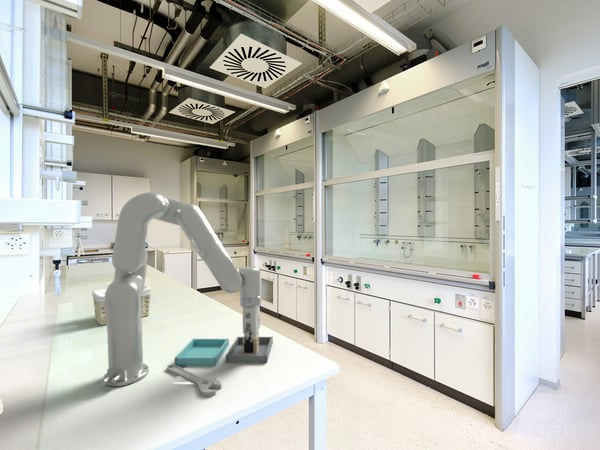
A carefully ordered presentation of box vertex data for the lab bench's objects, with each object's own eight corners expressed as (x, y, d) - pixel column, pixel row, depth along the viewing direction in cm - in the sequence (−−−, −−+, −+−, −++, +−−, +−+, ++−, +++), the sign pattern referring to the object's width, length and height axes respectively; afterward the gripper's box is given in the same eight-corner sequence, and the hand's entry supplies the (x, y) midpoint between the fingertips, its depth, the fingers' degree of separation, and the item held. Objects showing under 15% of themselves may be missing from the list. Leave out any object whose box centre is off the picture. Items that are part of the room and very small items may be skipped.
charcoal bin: (267, 364, 102) (266, 355, 102) (226, 364, 103) (226, 355, 103) (272, 344, 118) (272, 336, 118) (237, 344, 119) (237, 336, 119)
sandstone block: (256, 355, 108) (256, 338, 108) (242, 354, 108) (242, 338, 108) (259, 348, 113) (258, 333, 113) (245, 348, 113) (245, 333, 113)
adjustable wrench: (164, 371, 100) (164, 366, 100) (183, 364, 104) (183, 359, 104) (207, 400, 83) (207, 393, 83) (226, 389, 88) (226, 383, 88)
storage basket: (143, 309, 167) (143, 282, 166) (153, 316, 155) (152, 287, 154) (92, 319, 150) (91, 290, 150) (98, 328, 138) (97, 296, 138)
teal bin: (215, 366, 101) (215, 358, 101) (174, 366, 101) (174, 358, 101) (228, 346, 117) (228, 338, 117) (193, 346, 117) (193, 338, 117)
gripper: (256, 307, 101) (257, 357, 102) (264, 294, 119) (265, 337, 119) (234, 308, 102) (235, 357, 102) (245, 294, 119) (246, 337, 119)
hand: (251, 346), depth 111 cm, fingers open, 9 cm apart
